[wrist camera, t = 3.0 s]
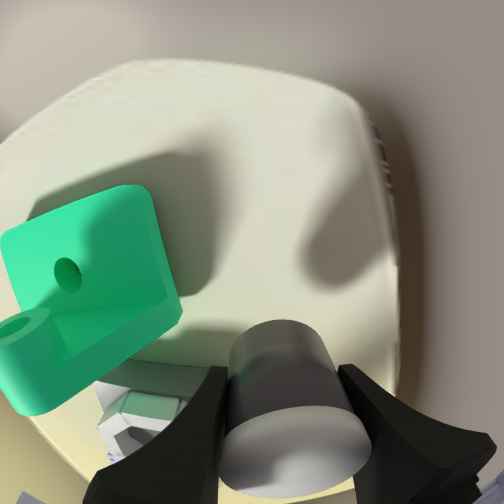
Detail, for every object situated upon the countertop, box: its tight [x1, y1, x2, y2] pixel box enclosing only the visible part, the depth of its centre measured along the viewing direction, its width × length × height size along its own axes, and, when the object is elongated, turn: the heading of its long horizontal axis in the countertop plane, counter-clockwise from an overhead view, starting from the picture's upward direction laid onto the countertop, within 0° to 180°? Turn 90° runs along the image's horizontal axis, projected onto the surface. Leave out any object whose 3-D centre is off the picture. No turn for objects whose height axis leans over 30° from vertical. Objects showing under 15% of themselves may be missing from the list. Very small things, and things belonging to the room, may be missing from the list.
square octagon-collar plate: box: [93, 359, 229, 460], centre depth 16 cm, size 9×9×5 cm
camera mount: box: [0, 184, 183, 416], centre depth 11 cm, size 12×8×10 cm, turn 101°
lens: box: [218, 320, 372, 499], centre depth 9 cm, size 5×5×6 cm
